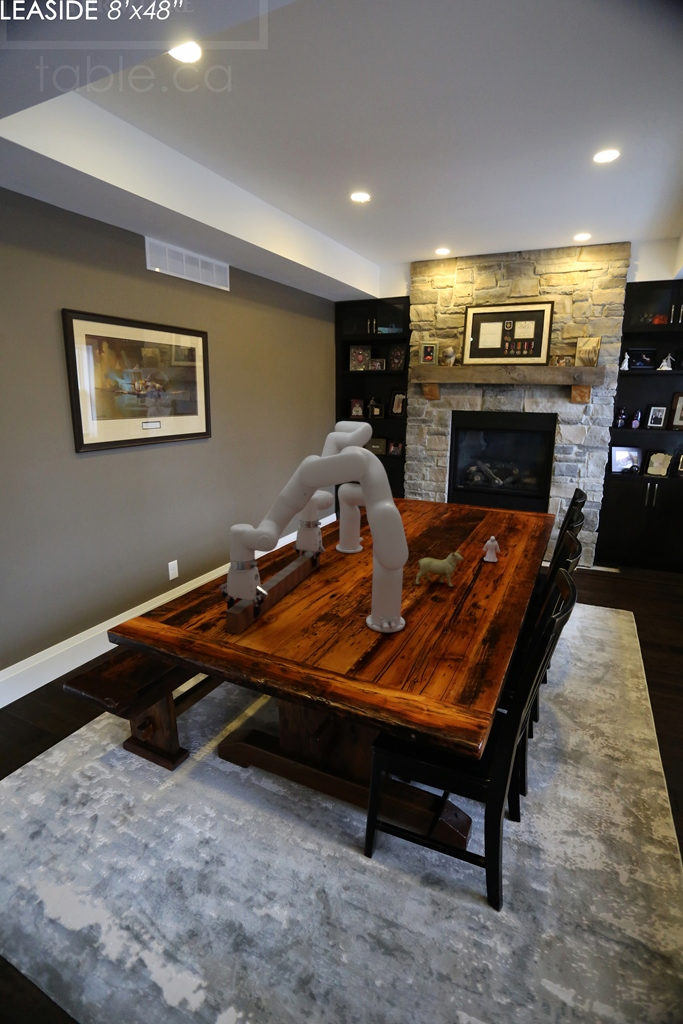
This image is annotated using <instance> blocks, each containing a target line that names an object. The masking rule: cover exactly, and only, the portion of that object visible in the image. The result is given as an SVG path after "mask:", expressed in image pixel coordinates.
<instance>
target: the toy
mask: <svg viewBox="0 0 683 1024" xmlns="http://www.w3.org/2000/svg"><path fill="white" fill-rule="evenodd" d="M461 553H462V550H457V551H454V552H451V553H449V554H448V556H447V557H446V558H445V559H437V558H433V557H424V558H421V559H419V560H418V568H419V572H416V573H417V574H416V578H415V582H414V583H415V585H416V586H420V578H421V577H422V576H423V577H425V578H426V581H427V582H431V577H430V576H429V575H428V573H430V574H431V575H434V576H440V575H441V576H440V579H439V583H440V584H444V578H446V581H447V584H448V587H449V588H454V585H453V584H452V582H451V580H452V579H451V577H452V575H453V573H454V572H455V570H456V567H457V562H458V561H459V562H463V561H464V560H465V558H464V557H463V556H462V555H460V554H461Z"/></svg>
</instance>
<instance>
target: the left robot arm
mask: <svg viewBox="0 0 683 1024" xmlns="http://www.w3.org/2000/svg"><path fill="white" fill-rule="evenodd" d="M372 435H373V428H372V426H371V424H370V423H368V422H365V421H350V420H349V421H347V420H342V421H338V422H337V423H335V426H334V431H332V432H330V433H328V434H327V436H326V438H325V441H324V446H323V448H322V452H321V455H320V457H327V456H332V455H336V454H340V452H341V451H342V450H343V449H344V448H346V447H349V446H357V447H361V448H364V446H365V445H366V444H367V443H368V442H369V441H370V440H371V438H372ZM353 482H359V484H358V483H351V482H346V483H342V484H340V486H339V487H338V491H337V496H338V502H339V542H338V543H339V544H336V546H335V550H336V551H337V552H339V553H343V554H357V553H361V552H362V551H363V548H364V547H363V546H362V545H361V542H364V538H363V537H360V536H361V511H360V508H359V507H365V508H366V505H365V500H364V496H363V492H362V489H361V485H360V481H359V479H357V480H354V481H353ZM334 501H335V498H334V495H333V493H331V491H327V490H320V489H317V491H316V492H315V493H314V495H313V496H312V498H311V499H310V500H309V502H308V503H307V505H306V506H305V508H304V509H303V510H302V511H301V512H299V525H298V526H297V530H296V539H295V543H294V544H293V545H292V549H293V550H294V551H295V552H296V553H297V555H298V557H300V556H301V555H303V554H304V553H306V552H307V551H312V553H313V559H312V567H313V568H314V567H315V566H316V565H317V557H318V556H319V555H320V556H321V555H322V554H324V553H326V549H325V547H324V546H323V538H322V530H321V527H320V526H322V522H321V521H320V520H319V511H322V510H328V509H329V508H331V507H332V506H333V505H334ZM318 550H320V551H319V552H318Z"/></svg>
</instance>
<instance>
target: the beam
mask: <svg viewBox="0 0 683 1024" xmlns="http://www.w3.org/2000/svg"><path fill="white" fill-rule="evenodd" d="M319 551H320V549H319V550H318V552H319ZM312 559H313V553H312V551H305V552H304V554H303V555H301V556H298V557H297V558H296V559H294V560H293V561H292V562H291V563H289V564H288V565H286V566H285V567H284V568H283V569H281V570H279V571H278V572H277V573H276V574H274V575H273V576H271V577H270V578H269V579H268V580H266V581H265V582H263V583H262V584H261V588H262V589H263V590H264V591H266V592H267V593H268V597H267V598H266V600H265V601H264V602H263V603H262V604H261V614H260V615H259V616H258V617H257V618H254V611H253V607H254V606H255V605H254V603H253V602H252V601H251V600H246V599H240V600H239V601H238V602H236V603H235V605H234V606H232V607H231V608H230V609H226V610H225V626H226V627H225V628H226V632H227V633H231V634H235V635H240V634H241V633H242V632H244V631H245V630H246V629H247V628H248V627H249V626H251V625H252V624H253V623H254V622H255V621H257V620H258V619H259V618H260V617H261V616H262V615H264V614H265V613H266V612H267V611H269V609H270V608H272V607H273V606H274V605H275V604H277V603H278V602H279V601H280V600H281V599H282V598H284V596H286V595H287V594H288V593H289V592H291V591H292V590H293V589H294V588H295V587H296V586H297V585H299V584H300V583H301V582H302V581H303V580H305V579H306V578H307V577H308V576H309V575H310V574H312V573H313V572H314V571H315V570H316V569H318V567H320V566H321V554H320V555H319V556H318V557H317V565H316V566H315V567H314V568H313V567H312ZM259 597H260V599H261V598H262V595H259ZM256 601H257V600H256Z"/></svg>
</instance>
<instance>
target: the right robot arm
mask: <svg viewBox="0 0 683 1024" xmlns="http://www.w3.org/2000/svg"><path fill="white" fill-rule="evenodd" d="M357 479H359V481H360V482H359V485H361V489H362V492H363V496H364V500H365V505H366V507H365V510H366V519H367V522H368V526H369V530H370V534H371V539H372V585H371V586H372V587H371V607H370V609H371V613H370V615H368V616H367V617H366V621H365V622H366V623H365V624H366V625H367V627H368V628H369V629H372V630H373V631H376V632H379V633H396V632H398V631H402V630H403V629H404V628H405V626H406V620H405V618H403V617H402V615H401V614H402V599H403V598H402V597H403V580H404V566H405V564H407V562H408V559H409V547H408V543H407V537H406V533H405V528H404V524H403V520H402V516H401V513H400V511H399V509H398V508H397V506H396V504H395V501H394V498H393V494H392V489H391V486H390V482H389V479H388V474H387V472H386V469H385V467H384V464H383V463H382V462H381V460H380V459H379V458H378V457H377V456H376V455H375V454H374V453H373V452H372V451H370V450H368V449H366V448H364V447H362V448H361V447H357V446H349V447H346V448H344V449H343V450H342V451H341V452H340V454H336V455H332V456H327V457H321V455H320V456H319V455H316V454H311V455H308V456H306V457H305V458H304V459H303V460H302V461H301V462H300V464H299V465H298V467H297V468H296V470H295V471H294V473H293V475H292V476H291V477H290V479H289V480H288V482H287V483H286V485H285V486H284V487H283V489H282V490H281V491H280V493H279V494H278V496H277V498H276V500H275V502H273V505H272V506H271V508H270V509H269V510H268V512H267V513H266V515H265V516H264V518H263V519H262V521H261V522H260V523H259V525H258V526H257V527H256V528H254V526H253V525H252V524H248V523H236V524H233V525H232V526H230V528H229V556H230V557H229V561H230V565H229V567H228V571H227V578H226V582H225V583H223V584H221V585H220V586H219V587H218V589H219V590H220V593H221V595H222V597H223V598H224V600H225V602H226V610H228V609H230V608H231V607H232V606H234V605H235V604H236V603H235V601H236V600H234V598H233V597H235V598H238V599H240V600H242V599H246V600H251V601H252V602H253V603H254V605H255V606H254V607H253V611H254V618H257V617H258V616H259V615H260V614H261V604H262V603H263V602H264V601H265V600H266V598H267V597H268V593H267V592H266V591H264V590H263V589H262V588H261V585H262V584H261V577H260V576H261V575H260V572H259V568H258V566H259V561H256V551H258V552H263V553H268V552H272V551H274V550H275V549H276V548H277V546H278V543H279V540H280V538H281V535H282V534H283V532H284V531H285V529H286V528H287V526H288V525H289V523H290V522H291V521H292V519H293V518H294V517H295V516H296V515H297V514H298V513H299V514H300V512H301V511H302V510H303V509H304V508H305V506H306V505H307V503H308V502H309V500H310V499H311V498H312V496H313V495H314V493H315V492H316V491H317V490H319V489H321V488H326V487H332V486H335V485H342V484H346V483H351V482H355V481H354V480H357ZM226 588H227V589H226ZM259 595H262V598H261V599H260V597H259ZM256 600H257V601H256ZM257 619H258V618H257Z"/></svg>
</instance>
